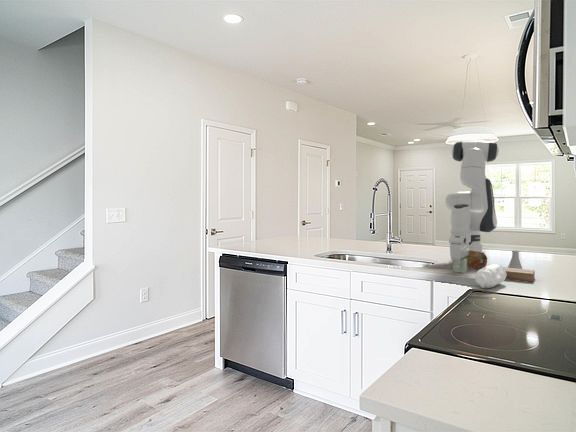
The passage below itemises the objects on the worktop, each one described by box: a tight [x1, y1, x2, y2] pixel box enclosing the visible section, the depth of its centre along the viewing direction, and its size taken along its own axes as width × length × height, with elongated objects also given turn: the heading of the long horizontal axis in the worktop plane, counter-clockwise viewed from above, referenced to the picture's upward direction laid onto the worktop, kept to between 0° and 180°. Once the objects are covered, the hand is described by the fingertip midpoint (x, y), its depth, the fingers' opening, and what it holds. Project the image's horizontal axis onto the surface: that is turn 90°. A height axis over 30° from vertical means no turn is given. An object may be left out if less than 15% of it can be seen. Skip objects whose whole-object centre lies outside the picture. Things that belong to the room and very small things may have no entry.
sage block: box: [452, 258, 468, 273], centre depth 181 cm, size 5×5×6 cm
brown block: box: [504, 267, 536, 283], centre depth 164 cm, size 10×12×4 cm
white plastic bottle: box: [474, 263, 507, 289], centre depth 149 cm, size 8×19×8 cm, turn 135°
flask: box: [507, 249, 523, 269], centre depth 180 cm, size 7×7×10 cm
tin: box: [465, 251, 488, 270], centre depth 192 cm, size 15×3×8 cm, turn 14°
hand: (460, 266), depth 181 cm, fingers closed on sage block, 5 cm apart
